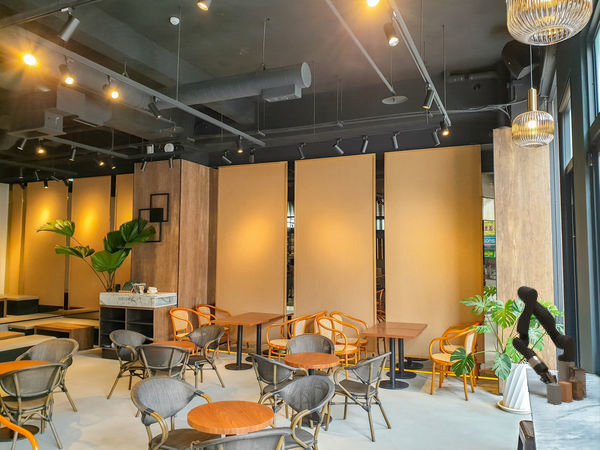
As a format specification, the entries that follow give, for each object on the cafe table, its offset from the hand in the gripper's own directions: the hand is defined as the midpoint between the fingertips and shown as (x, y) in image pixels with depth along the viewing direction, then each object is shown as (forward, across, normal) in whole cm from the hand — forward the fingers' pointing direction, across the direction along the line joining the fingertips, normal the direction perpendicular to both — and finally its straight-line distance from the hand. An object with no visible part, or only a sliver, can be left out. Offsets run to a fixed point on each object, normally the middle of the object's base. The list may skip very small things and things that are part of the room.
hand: (558, 390), depth 264 cm
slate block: (+6, -10, +1) cm, 12 cm away
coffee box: (+3, +19, +4) cm, 20 cm away
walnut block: (+6, +10, +1) cm, 12 cm away
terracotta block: (+6, 0, +1) cm, 6 cm away
